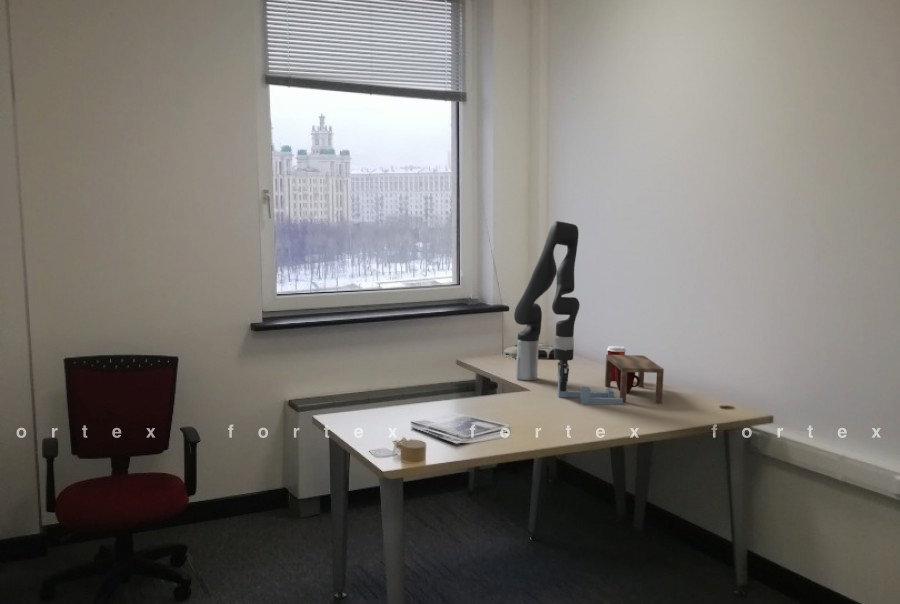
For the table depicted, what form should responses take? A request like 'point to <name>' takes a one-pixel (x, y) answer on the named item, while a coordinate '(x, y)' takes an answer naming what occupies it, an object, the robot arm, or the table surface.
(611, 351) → the coffee cup
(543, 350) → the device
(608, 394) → the light blue l-shaped bar
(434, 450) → the table surface
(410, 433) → the table surface
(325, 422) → the table surface
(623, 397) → the small wooden table
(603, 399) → the blue l-shaped block
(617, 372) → the mug
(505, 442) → the table surface
